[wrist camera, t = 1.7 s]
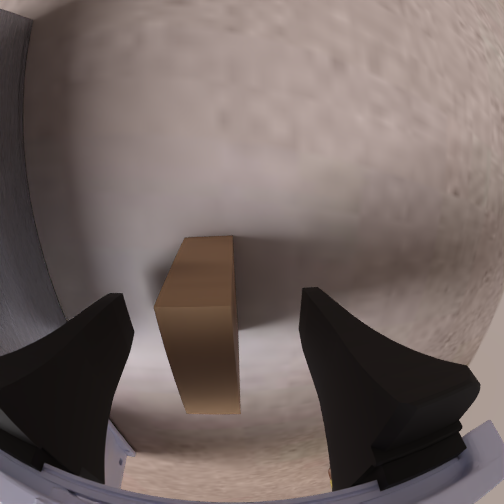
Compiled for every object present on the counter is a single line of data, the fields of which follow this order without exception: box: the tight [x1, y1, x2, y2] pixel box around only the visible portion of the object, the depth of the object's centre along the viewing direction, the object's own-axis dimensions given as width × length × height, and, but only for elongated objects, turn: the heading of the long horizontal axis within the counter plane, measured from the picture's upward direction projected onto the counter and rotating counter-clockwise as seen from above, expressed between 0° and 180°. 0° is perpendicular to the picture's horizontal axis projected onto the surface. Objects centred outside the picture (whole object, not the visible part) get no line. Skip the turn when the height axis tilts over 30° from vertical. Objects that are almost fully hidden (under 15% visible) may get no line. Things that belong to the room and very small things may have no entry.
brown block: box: [154, 235, 241, 414], centre depth 10 cm, size 5×2×5 cm, turn 1°
